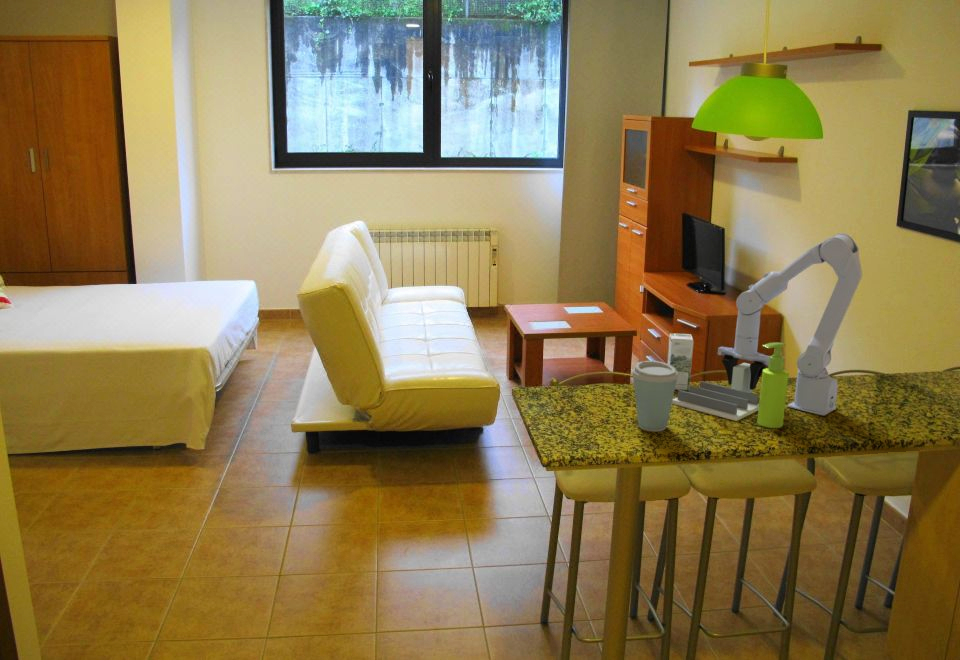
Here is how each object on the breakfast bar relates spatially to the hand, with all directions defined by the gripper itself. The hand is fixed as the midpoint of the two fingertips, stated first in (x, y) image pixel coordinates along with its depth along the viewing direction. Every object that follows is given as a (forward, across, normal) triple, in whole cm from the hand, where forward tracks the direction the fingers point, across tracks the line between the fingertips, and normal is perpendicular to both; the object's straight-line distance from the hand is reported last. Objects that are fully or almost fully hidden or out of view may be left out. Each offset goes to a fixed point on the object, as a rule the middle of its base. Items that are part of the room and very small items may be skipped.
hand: (741, 386), depth 236 cm
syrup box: (+3, -15, -7) cm, 17 cm away
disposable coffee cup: (+3, -3, -39) cm, 39 cm away
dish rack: (+2, 0, -13) cm, 13 cm away
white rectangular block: (+2, 0, 0) cm, 2 cm away
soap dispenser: (+3, +15, -16) cm, 23 cm away
